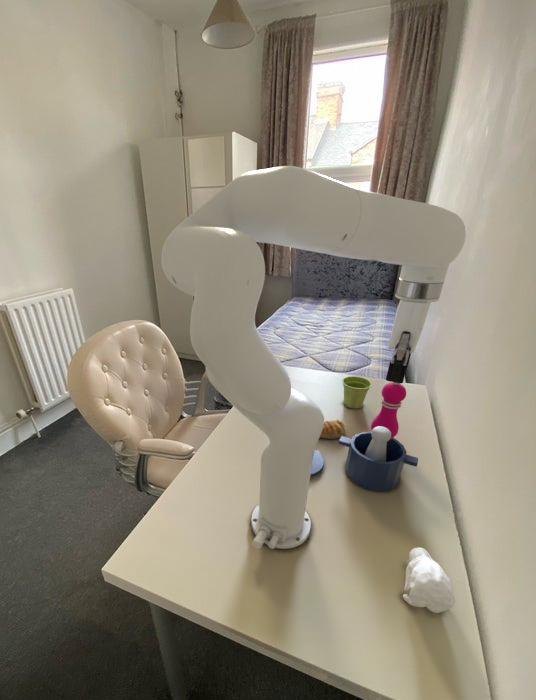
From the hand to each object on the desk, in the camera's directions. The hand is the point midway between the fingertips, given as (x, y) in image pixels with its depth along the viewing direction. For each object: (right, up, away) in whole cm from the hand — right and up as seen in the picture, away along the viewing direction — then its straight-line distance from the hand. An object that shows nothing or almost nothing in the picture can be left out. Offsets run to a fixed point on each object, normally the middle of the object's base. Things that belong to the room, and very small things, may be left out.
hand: (397, 372), depth 71 cm
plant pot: (+6, -8, +44) cm, 45 cm away
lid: (-18, -22, +18) cm, 33 cm away
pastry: (-6, -16, +29) cm, 34 cm away
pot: (0, -25, +14) cm, 28 cm away
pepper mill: (+8, -18, +26) cm, 33 cm away
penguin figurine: (-2, -39, -12) cm, 41 cm away
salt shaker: (0, -24, +14) cm, 28 cm away
